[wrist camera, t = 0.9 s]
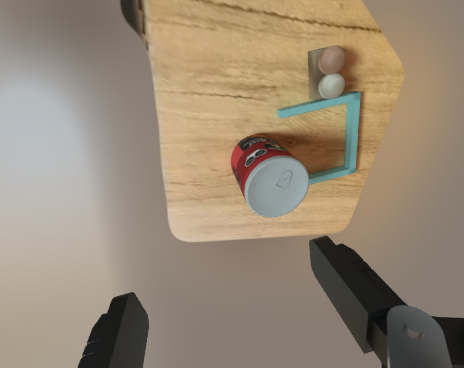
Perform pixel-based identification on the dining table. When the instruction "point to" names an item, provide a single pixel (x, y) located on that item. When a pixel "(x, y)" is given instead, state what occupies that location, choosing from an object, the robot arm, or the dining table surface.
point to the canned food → (269, 176)
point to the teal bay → (351, 131)
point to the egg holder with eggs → (326, 72)
